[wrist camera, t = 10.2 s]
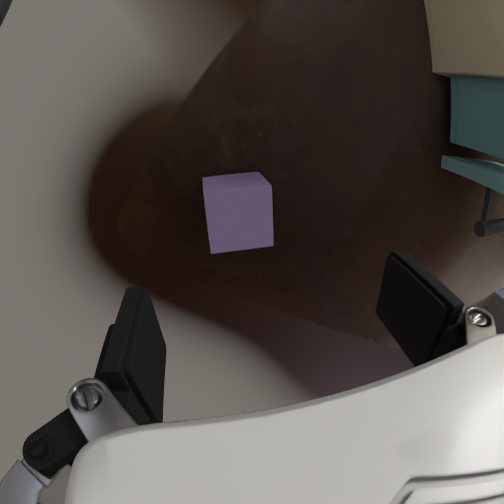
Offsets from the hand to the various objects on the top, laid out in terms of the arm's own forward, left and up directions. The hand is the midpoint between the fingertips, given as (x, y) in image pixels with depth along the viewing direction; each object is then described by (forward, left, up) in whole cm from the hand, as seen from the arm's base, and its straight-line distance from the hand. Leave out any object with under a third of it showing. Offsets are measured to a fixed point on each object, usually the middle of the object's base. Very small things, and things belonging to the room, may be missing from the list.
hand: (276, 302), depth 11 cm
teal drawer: (+24, +6, -11) cm, 27 cm away
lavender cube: (0, 0, -12) cm, 12 cm away
